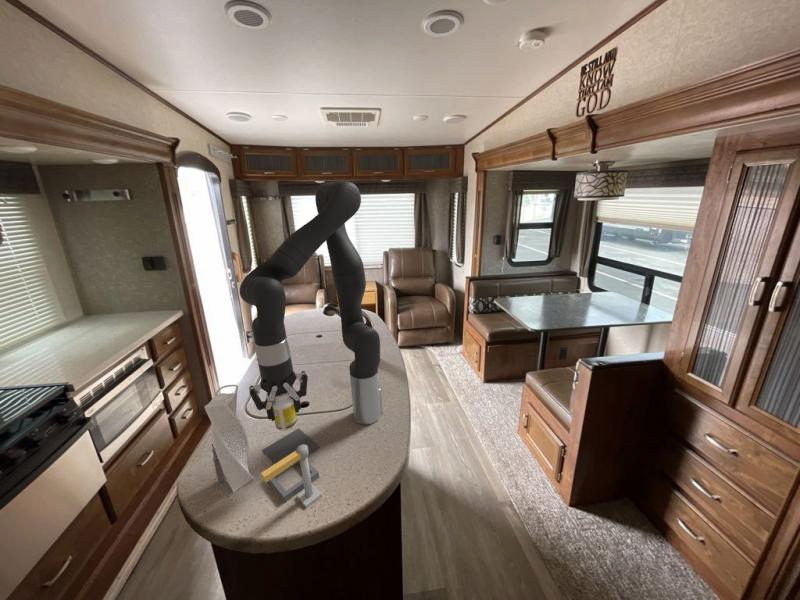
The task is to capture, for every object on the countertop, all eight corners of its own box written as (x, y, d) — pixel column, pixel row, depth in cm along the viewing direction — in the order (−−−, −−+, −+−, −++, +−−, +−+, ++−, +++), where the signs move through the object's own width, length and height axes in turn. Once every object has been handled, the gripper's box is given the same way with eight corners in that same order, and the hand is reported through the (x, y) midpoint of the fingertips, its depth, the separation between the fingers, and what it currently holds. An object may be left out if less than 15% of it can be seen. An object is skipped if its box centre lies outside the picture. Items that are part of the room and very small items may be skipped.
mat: (298, 429, 101) (298, 428, 101) (319, 447, 93) (319, 446, 93) (262, 450, 93) (262, 449, 93) (282, 472, 85) (282, 471, 85)
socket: (299, 458, 90) (294, 421, 86) (330, 488, 80) (326, 449, 76) (266, 480, 83) (259, 441, 79) (296, 516, 73) (288, 474, 69)
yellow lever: (304, 449, 76) (304, 442, 75) (310, 454, 74) (309, 448, 73) (261, 478, 68) (259, 471, 67) (266, 484, 66) (265, 477, 66)
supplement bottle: (299, 416, 84) (294, 385, 81) (294, 431, 79) (288, 398, 76) (279, 418, 84) (273, 386, 81) (272, 432, 79) (266, 399, 76)
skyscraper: (248, 462, 89) (229, 377, 80) (262, 478, 84) (243, 388, 75) (217, 482, 83) (192, 392, 74) (229, 500, 78) (204, 406, 69)
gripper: (301, 343, 81) (309, 398, 87) (240, 358, 75) (253, 416, 80) (307, 355, 75) (316, 413, 80) (242, 372, 69) (256, 434, 74)
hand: (285, 414), depth 80 cm, fingers closed on supplement bottle, 5 cm apart
